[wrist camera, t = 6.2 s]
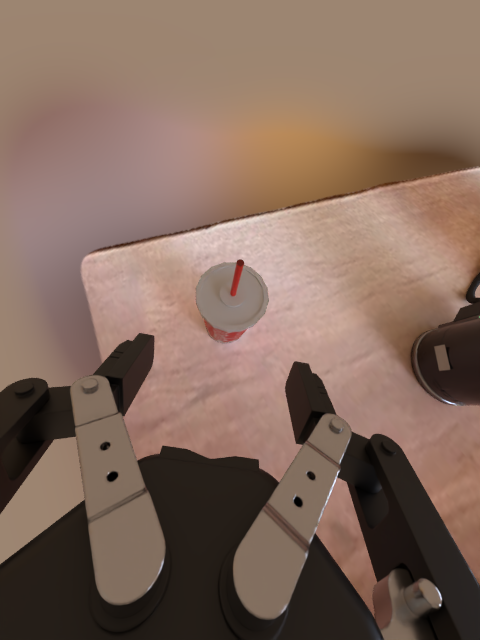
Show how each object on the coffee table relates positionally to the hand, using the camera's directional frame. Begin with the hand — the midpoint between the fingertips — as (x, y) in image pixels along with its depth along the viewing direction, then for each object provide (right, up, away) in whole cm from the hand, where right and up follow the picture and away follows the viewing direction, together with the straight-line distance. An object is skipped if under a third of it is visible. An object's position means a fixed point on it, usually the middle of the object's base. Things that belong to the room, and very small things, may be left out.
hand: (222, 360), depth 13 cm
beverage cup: (-1, +2, +15) cm, 15 cm away
